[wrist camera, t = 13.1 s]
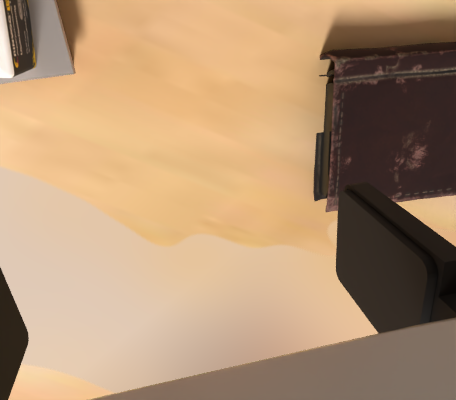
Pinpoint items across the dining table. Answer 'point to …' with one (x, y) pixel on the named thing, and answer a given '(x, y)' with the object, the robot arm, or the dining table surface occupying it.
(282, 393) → the robot arm
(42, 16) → the podium
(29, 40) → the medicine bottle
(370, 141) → the diary
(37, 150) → the dining table surface
